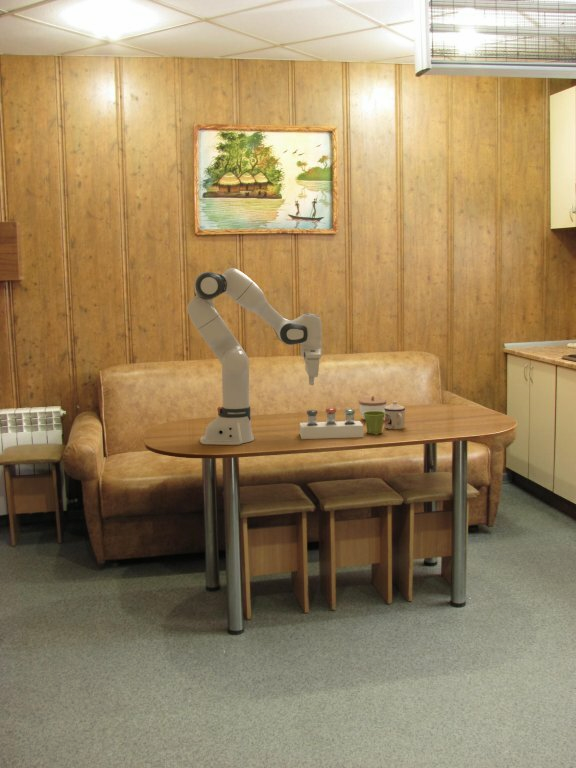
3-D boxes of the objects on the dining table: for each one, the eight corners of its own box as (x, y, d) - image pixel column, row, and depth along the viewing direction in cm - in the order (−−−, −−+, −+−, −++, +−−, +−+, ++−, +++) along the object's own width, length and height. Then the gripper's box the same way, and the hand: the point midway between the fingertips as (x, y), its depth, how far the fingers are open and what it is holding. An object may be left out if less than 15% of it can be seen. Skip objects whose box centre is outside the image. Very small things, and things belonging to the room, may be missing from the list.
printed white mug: (381, 426, 360) (381, 400, 358) (399, 424, 362) (400, 399, 360) (391, 431, 348) (391, 405, 346) (411, 430, 351) (411, 403, 349)
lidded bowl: (362, 423, 367) (362, 399, 366) (356, 417, 380) (356, 394, 378) (389, 421, 369) (389, 398, 367) (382, 416, 381) (382, 393, 380)
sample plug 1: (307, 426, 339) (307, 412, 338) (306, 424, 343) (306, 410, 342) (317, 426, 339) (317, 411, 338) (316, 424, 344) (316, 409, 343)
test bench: (301, 439, 337) (301, 427, 336) (299, 434, 347) (299, 422, 346) (363, 437, 338) (363, 425, 338) (359, 432, 348) (359, 420, 347)
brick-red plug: (326, 424, 339) (326, 410, 338) (325, 422, 344) (325, 408, 343) (336, 424, 340) (336, 409, 339) (335, 422, 344) (335, 407, 343)
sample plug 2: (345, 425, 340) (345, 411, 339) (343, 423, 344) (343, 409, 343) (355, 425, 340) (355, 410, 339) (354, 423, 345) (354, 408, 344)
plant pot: (368, 435, 341) (368, 415, 339) (360, 431, 350) (359, 411, 348) (388, 434, 343) (388, 414, 342) (380, 429, 352) (380, 410, 351)
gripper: (302, 349, 347) (302, 381, 349) (305, 355, 326) (305, 388, 329) (316, 349, 347) (316, 381, 349) (321, 354, 327) (321, 388, 329)
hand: (311, 384), depth 339 cm, fingers closed
